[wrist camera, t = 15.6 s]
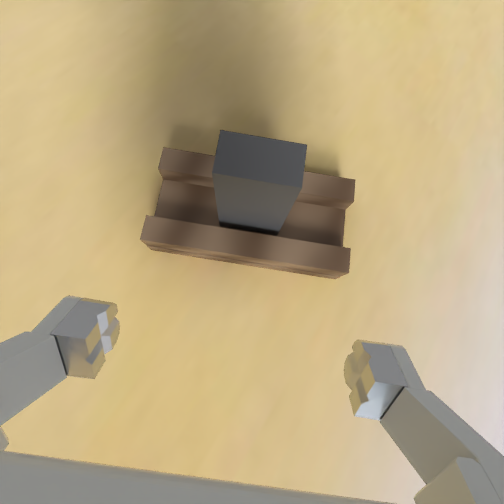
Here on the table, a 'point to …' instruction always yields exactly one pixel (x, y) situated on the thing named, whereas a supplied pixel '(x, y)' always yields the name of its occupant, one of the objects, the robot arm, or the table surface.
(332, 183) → the display ledge
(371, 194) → the table surface
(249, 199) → the dark grey rectangular block
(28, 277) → the table surface
